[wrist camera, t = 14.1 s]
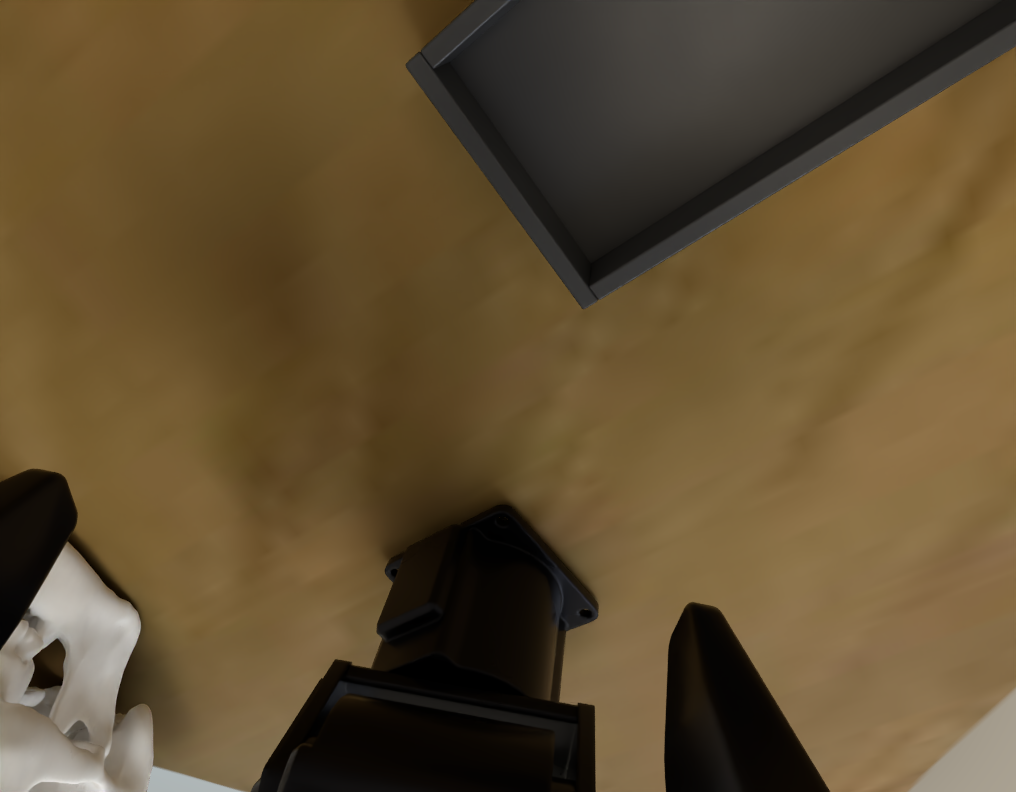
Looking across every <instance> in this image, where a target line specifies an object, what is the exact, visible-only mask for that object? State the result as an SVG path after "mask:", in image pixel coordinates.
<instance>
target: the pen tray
mask: <svg viewBox="0 0 1016 792" xmlns="http://www.w3.org/2000/svg"><path fill="white" fill-rule="evenodd" d="M1015 46H1016V0H475V1H474V2H473V3H471V4H470V5H469V6H468V7H467V8H466V9H465V10H464V11H463V12H462V13H461V14H459V15H458V16H457V17H456V18H455V19H454V20H453V21H452V22H451V23H450V24H449V25H447V26H446V27H445V28H444V29H443V30H442V31H441V32H440V33H439V34H438V35H436V36H435V37H434V38H433V39H432V40H431V41H430V42H429V43H428V44H427V45H426V46H424V47H423V48H422V50H421V52H418V53H417V54H416V55H415V56H414V57H412V58H411V59H410V60H409V61H408V62H407V63H406V65H405V66H406V68H407V69H408V71H409V72H410V73H411V75H412V76H413V77H414V79H415V80H416V82H417V83H418V84H419V86H420V87H421V88H422V90H423V91H424V93H425V94H426V95H427V97H428V98H429V99H430V101H431V102H432V104H433V105H434V106H435V108H436V109H437V110H438V112H439V113H440V114H441V116H442V117H443V119H444V120H445V121H446V123H447V124H448V125H449V127H450V128H451V130H452V131H453V132H454V134H455V135H456V136H457V138H458V139H459V140H460V142H461V143H462V145H463V146H464V147H465V149H466V150H467V151H468V153H469V154H470V156H471V157H472V158H473V160H474V161H475V162H476V164H477V165H478V166H479V168H480V169H481V171H482V172H483V173H484V175H485V176H486V177H487V179H488V180H489V182H490V183H491V184H492V186H493V187H494V188H495V190H496V191H497V193H498V194H499V195H500V197H501V198H502V199H503V201H504V202H505V203H506V205H507V206H508V208H509V209H510V210H511V212H512V213H513V214H514V216H515V217H516V219H517V220H518V221H519V223H520V224H521V225H522V227H523V228H524V229H525V231H526V232H527V234H528V235H529V236H530V238H531V239H532V240H533V242H534V243H535V245H536V246H537V247H538V249H539V250H540V251H541V253H542V254H543V256H544V257H545V258H546V260H547V261H548V262H549V264H550V265H551V266H552V268H553V269H554V271H555V272H556V273H557V275H558V276H559V277H560V279H561V280H562V282H563V283H564V284H565V286H566V287H567V288H568V290H569V291H570V292H571V294H572V295H573V297H574V298H575V299H576V301H577V302H578V303H579V305H580V306H581V308H582V309H586V308H587V307H589V306H591V305H592V304H594V303H596V302H597V301H598V300H600V299H602V298H604V297H605V296H607V295H609V294H610V293H612V292H614V291H615V290H617V289H619V288H620V287H622V286H623V285H625V284H627V283H628V282H630V281H632V280H633V279H635V278H637V277H638V276H640V275H641V274H643V273H645V272H646V271H648V270H650V269H651V268H653V267H655V266H656V265H658V264H660V263H661V262H663V261H664V260H666V259H668V258H669V257H671V256H673V255H674V254H676V253H678V252H679V251H681V250H682V249H684V248H686V247H687V246H689V245H691V244H692V243H694V242H696V241H697V240H699V239H701V238H702V237H704V236H705V235H707V234H709V233H710V232H712V231H714V230H715V229H717V228H719V227H720V226H722V225H723V224H725V223H727V222H728V221H730V220H732V219H733V218H735V217H737V216H738V215H740V214H742V213H743V212H745V211H746V210H748V209H750V208H751V207H753V206H755V205H756V204H758V203H760V202H761V201H763V200H764V199H766V198H768V197H769V196H771V195H773V194H774V193H776V192H778V191H779V190H781V189H783V188H784V187H786V186H787V185H789V184H791V183H792V182H794V181H796V180H797V179H799V178H801V177H802V176H804V175H805V174H807V173H809V172H810V171H812V170H814V169H815V168H817V167H819V166H820V165H822V164H824V163H825V162H827V161H828V160H830V159H832V158H833V157H835V156H837V155H838V154H840V153H842V152H843V151H845V150H846V149H848V148H850V147H851V146H853V145H855V144H856V143H858V142H860V141H861V140H863V139H865V138H866V137H868V136H869V135H871V134H873V133H874V132H876V131H878V130H879V129H881V128H883V127H884V126H886V125H887V124H889V123H891V122H892V121H894V120H896V119H897V118H899V117H901V116H902V115H904V114H906V113H907V112H909V111H910V110H912V109H914V108H915V107H917V106H919V105H920V104H922V103H924V102H925V101H927V100H928V99H930V98H932V97H933V96H935V95H937V94H938V93H940V92H942V91H943V90H945V89H947V88H948V87H950V86H951V85H953V84H955V83H956V82H958V81H960V80H961V79H963V78H965V77H966V76H968V75H969V74H971V73H973V72H974V71H976V70H978V69H979V68H981V67H983V66H984V65H986V64H988V63H989V62H991V61H992V60H994V59H996V58H997V57H999V56H1001V55H1002V54H1004V53H1006V52H1007V51H1009V50H1010V49H1012V48H1014V47H1015Z"/></svg>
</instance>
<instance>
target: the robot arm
mask: <svg viewBox="0 0 1016 792" xmlns="http://www.w3.org/2000/svg"><path fill="white" fill-rule="evenodd" d="M499 517H505V518H507V519H508V520H502V519H500V518H499ZM77 518H78V513H77V509H76V506H75V503H74V500H73V498H72V495H71V492H70V489H69V486H68V483H67V480H66V478H65V477H64V476H63V475H62V474H59V473H56V472H51V471H46V470H41V469H30V470H26V471H24V472H21V473H19V474H17V475H15V476H13V477H10V478H8V479H6V480H4V481H1V482H0V650H1V649H2V647H3V646H4V645H5V643H6V642H7V641H8V639H9V638H10V636H11V635H12V633H13V632H14V630H15V629H16V627H17V626H18V624H19V623H20V621H21V620H22V618H23V617H24V615H25V613H26V612H27V610H28V609H29V607H30V605H31V603H32V602H33V600H34V598H35V596H36V595H37V593H38V591H39V590H40V588H41V586H42V584H43V583H44V581H45V579H46V577H47V576H48V574H49V572H50V571H51V569H52V567H53V565H54V564H55V562H56V560H57V558H58V557H59V555H60V553H61V552H62V550H63V548H64V546H65V545H66V543H67V541H68V539H69V538H70V536H71V534H72V533H73V531H74V529H75V526H76V523H77ZM395 568H396V569H395ZM397 569H399V570H397ZM385 574H386V576H387V577H388V578H389V579H390V580H391V581H392V582H393V585H392V588H391V590H390V593H389V595H388V598H387V600H386V603H385V605H384V608H383V610H382V613H381V616H380V618H379V621H378V623H377V634H378V635H380V636H381V637H382V641H381V643H380V646H379V649H378V651H377V654H376V657H375V659H374V662H373V665H372V667H371V668H366V667H360V666H355V665H352V662H348V661H343V660H337V659H335V661H334V662H333V664H332V665H331V667H330V668H329V670H328V671H327V673H326V674H325V676H324V678H323V679H322V678H321V679H320V681H319V682H318V684H317V685H316V687H315V688H314V690H313V692H312V693H311V695H310V696H309V698H308V699H307V701H306V702H305V704H304V706H303V707H302V709H301V710H300V712H299V713H298V715H297V716H296V718H295V720H294V721H293V723H292V724H291V726H290V727H289V729H288V730H287V732H286V734H285V735H284V737H283V738H282V740H281V741H280V743H279V745H278V746H277V748H276V749H275V751H274V752H273V754H272V755H271V757H270V759H269V760H268V762H267V763H266V765H265V767H264V769H263V772H262V775H261V778H260V779H259V780H258V781H257V782H256V783H255V784H254V786H253V788H252V790H251V792H596V789H595V706H593V705H588V704H582V703H578V705H571V704H566V703H560V702H559V696H560V686H561V676H562V666H563V655H564V645H565V635H566V631H568V630H570V629H573V628H576V627H578V626H581V625H584V624H586V623H589V622H592V621H594V620H595V619H597V617H598V603H597V601H596V600H595V599H594V598H593V597H592V596H591V595H590V594H589V593H588V591H587V590H586V589H585V588H584V587H583V586H582V585H581V584H580V582H579V581H578V580H577V579H576V578H575V577H574V576H573V575H572V573H571V572H570V571H569V570H568V569H567V568H566V567H565V566H564V564H563V563H562V562H561V561H560V560H559V559H558V558H557V557H556V555H555V554H554V553H553V552H552V551H551V550H550V549H549V548H548V546H547V545H546V544H545V543H544V542H543V541H542V540H541V539H540V537H539V536H538V535H537V534H536V533H535V532H534V531H533V530H532V529H531V527H530V526H529V525H528V524H527V523H526V522H525V521H524V520H523V518H522V517H521V516H520V515H519V514H518V513H517V512H516V511H515V510H514V509H513V508H512V507H510V506H507V505H498V506H495V507H493V508H491V509H489V510H487V511H485V512H483V513H481V514H479V515H477V516H475V517H473V518H471V519H469V520H467V521H465V522H463V523H461V524H456V525H451V526H449V527H447V528H445V529H443V530H441V531H439V532H437V533H435V534H433V535H431V536H429V537H427V538H425V539H423V540H421V541H419V542H417V543H415V544H413V545H411V546H409V547H408V548H407V549H406V551H405V552H403V553H401V554H399V555H397V556H395V557H393V558H391V559H390V560H389V561H388V563H387V566H386V568H385ZM584 609H588V610H584ZM664 763H665V783H666V792H830V791H829V789H828V787H827V786H826V784H825V782H824V781H823V779H822V777H821V776H820V774H819V772H818V771H817V769H816V767H815V766H814V764H813V763H812V761H811V759H810V758H809V756H808V754H807V753H806V751H805V749H804V748H803V746H802V744H801V743H800V741H799V739H798V738H797V736H796V734H795V733H794V731H793V729H792V728H791V726H790V725H789V723H788V721H787V720H786V718H785V716H784V715H783V713H782V711H781V710H780V708H779V706H778V705H777V703H776V701H775V700H774V698H773V696H772V695H771V693H770V691H769V690H768V688H767V687H766V685H765V683H764V682H763V680H762V678H761V677H760V675H759V673H758V672H757V670H756V668H755V667H754V665H753V663H752V662H751V660H750V658H749V657H748V655H747V653H746V652H745V650H744V649H743V647H742V645H741V644H740V642H739V640H738V639H737V637H736V635H735V634H734V632H733V630H732V629H731V627H730V625H729V624H728V622H727V620H726V619H725V617H724V616H723V614H722V612H721V611H720V610H719V609H718V608H716V607H714V606H710V605H705V604H700V603H695V602H691V603H689V604H687V605H686V607H685V608H684V610H683V613H682V615H681V617H680V619H679V621H678V623H677V625H676V627H675V629H674V631H673V633H672V636H671V639H670V643H669V650H668V673H667V698H666V723H665V753H664Z"/></svg>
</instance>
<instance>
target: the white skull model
mask: <svg viewBox="0 0 1016 792" xmlns="http://www.w3.org/2000/svg"><path fill="white" fill-rule="evenodd" d="M23 619H25V620H26V621H25V620H21V621H20V623H19V624H18V626H17V627H16V629H15V630H14V632H13V633H12V635H11V636H10V638H9V639H8V641H7V642H6V643H5V645H4V646H3V647H2V649H1V650H0V792H147V788H148V783H149V779H150V773H151V770H152V767H153V758H154V752H153V719H152V713H151V710H150V708H149V706H147V705H146V704H139V705H137V706H135V707H133V708H131V709H130V710H129V711H128V713H127V714H124V715H122V714H121V713H118V714H115V706H116V699H117V694H118V690H119V686H120V683H121V679H122V675H123V672H124V669H125V667H126V664H127V662H128V660H129V658H130V655H131V653H132V651H133V649H134V647H135V645H136V642H137V640H138V637H139V634H140V630H141V621H140V618H139V614H138V612H137V610H135V609H134V608H133V606H132V604H131V603H130V602H129V601H126V600H123V599H121V598H119V597H118V596H117V595H116V594H115V593H114V592H113V590H111V589H109V588H108V587H107V586H106V585H105V584H104V583H103V581H102V580H101V579H100V577H99V576H98V575H97V574H96V573H95V571H94V570H93V569H92V567H91V566H90V565H89V564H88V563H87V562H86V560H85V559H84V558H83V557H82V556H81V554H80V553H79V552H78V551H77V550H76V549H75V548H74V547H73V546H72V545H71V544H70V543H69V542H68V541H67V543H66V545H65V546H64V548H63V550H62V552H61V553H60V555H59V557H58V558H57V560H56V562H55V564H54V565H53V567H52V569H51V571H50V572H49V574H48V576H47V577H46V579H45V581H44V583H43V584H42V586H41V588H40V590H39V591H38V593H37V595H36V596H35V598H34V600H33V602H32V603H31V605H30V607H29V609H28V610H27V612H26V613H25V615H24V617H23ZM57 638H58V639H59V641H60V642H61V643H62V645H63V646H64V648H65V651H66V657H65V660H64V663H63V672H64V678H63V684H62V686H54V687H51V688H47V689H40V688H38V687H37V686H35V687H28V685H29V683H30V681H31V678H32V676H33V673H34V669H35V665H34V662H33V660H32V658H33V657H34V656H35V655H36V654H38V653H39V652H40V651H41V649H44V648H45V647H47V646H48V645H49V644H50V643H52V642H53V641H54V640H55V639H57Z"/></svg>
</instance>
